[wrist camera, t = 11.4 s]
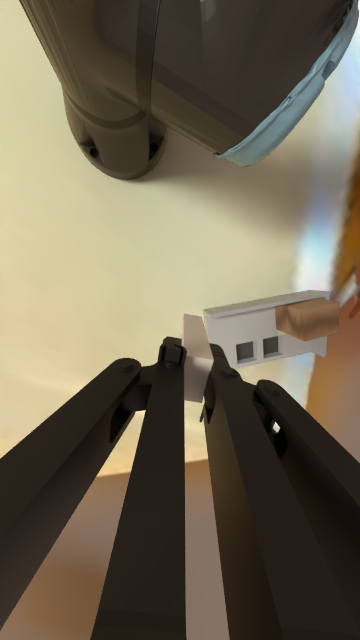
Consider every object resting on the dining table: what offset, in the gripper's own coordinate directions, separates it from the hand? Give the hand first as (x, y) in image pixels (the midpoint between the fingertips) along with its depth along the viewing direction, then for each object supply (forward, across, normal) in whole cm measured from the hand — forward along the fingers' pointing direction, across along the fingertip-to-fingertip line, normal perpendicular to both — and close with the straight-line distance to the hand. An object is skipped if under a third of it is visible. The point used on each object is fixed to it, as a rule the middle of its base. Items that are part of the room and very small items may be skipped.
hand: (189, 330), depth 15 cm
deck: (+26, +19, -8) cm, 33 cm away
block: (+25, +24, -2) cm, 35 cm away
